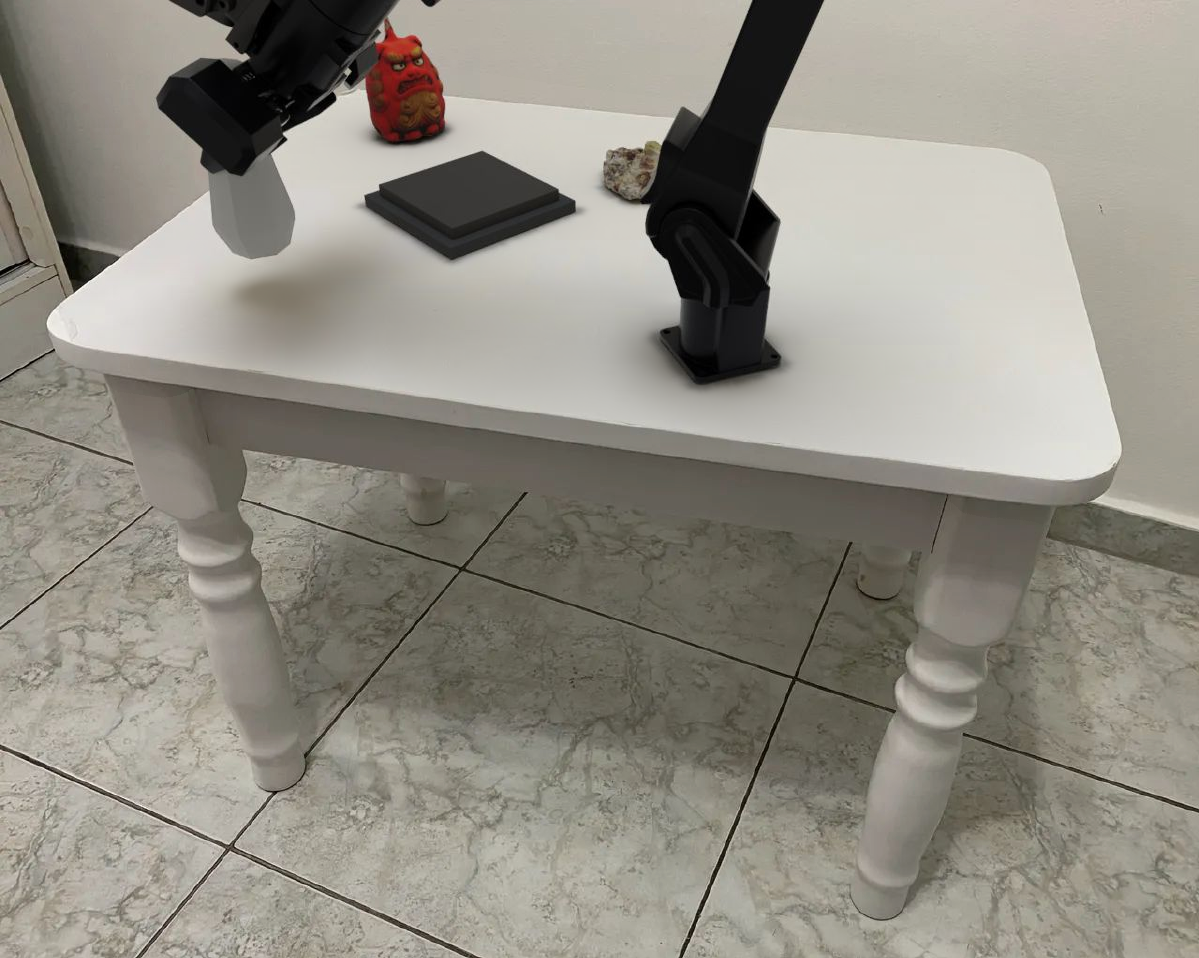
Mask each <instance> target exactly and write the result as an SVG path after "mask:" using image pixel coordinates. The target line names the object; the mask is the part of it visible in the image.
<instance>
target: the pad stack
mask: <svg viewBox="0 0 1199 958" xmlns="http://www.w3.org/2000/svg"><path fill="white" fill-rule="evenodd" d="M363 196H364V203H365V206H366V207H367V208H369V209H371V210H372V211H374V212H375V213H377V214H378V215H380V216H381V217H383V218H385V219H386V220H388V221H389V222H391V223H393V224H394V225H396V226H398V227H399V228H400V229H402V230H403V231H405V232H407V233H408V234H410V235H412V236H413V237H415V238H416V239H418V240H420V241H422V242H423V243H424V244H426V245H427V246H429V247H431V248H433V249H434V250H436V251H437V252H439V253H441V254H442V255H444V256H445V257H447V258H448V259H450V260H453V259H457V258H459V257H462V256H464V255H467V254H469V253H472V252H474V251H477V250H479V249H482V248H485V247H488V246H490V245H493V244H495V243H498V242H500V241H503V240H506V239H509V238H510V237H514V236H516V235H518V234H521V233H524V232H526V231H528V230H531V229H534V228H537V227H539V226H542V225H544V224H547V223H549V222H552V221H555V220H557V219H559V218H562V217H565V216H567V215H571V214H572V213H575V212H576V211H577V205H576V203H577V201H576V200H575V199H573V198H571V197H569V196H567V195H566V194H563V193H561V192H560V189H559V188H558V187H555V186H553V185H552V184H550V183H547V182H546V181H544V180H542V179H539V178H537V177H535V176H533V175H532V174H530V173H528V172H526V171H524V170H522V169H520V168H517V167H516V166H514V165H512V164H509V163H508V162H507V161H504V160H501V159H500V158H499V157H496V156H494V155H492V154H490V153H488V152H486V151H484V150H480V151H477V152H474V153H470V154H467V155H465V156H461V157H458V158H455V159H452V160H450V161H446V162H443V163H440V164H437V165H434V166H431V167H428V168H424V169H421V170H419V171H415V172H412V173H409V174H406V175H403V176H400V177H397V178H394V179H391V180H388V181H385V182H382V183H379V184H378V189H377V190H376V191H375V190H374V191H372V192H369V193H366V194H364V195H363Z"/></svg>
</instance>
